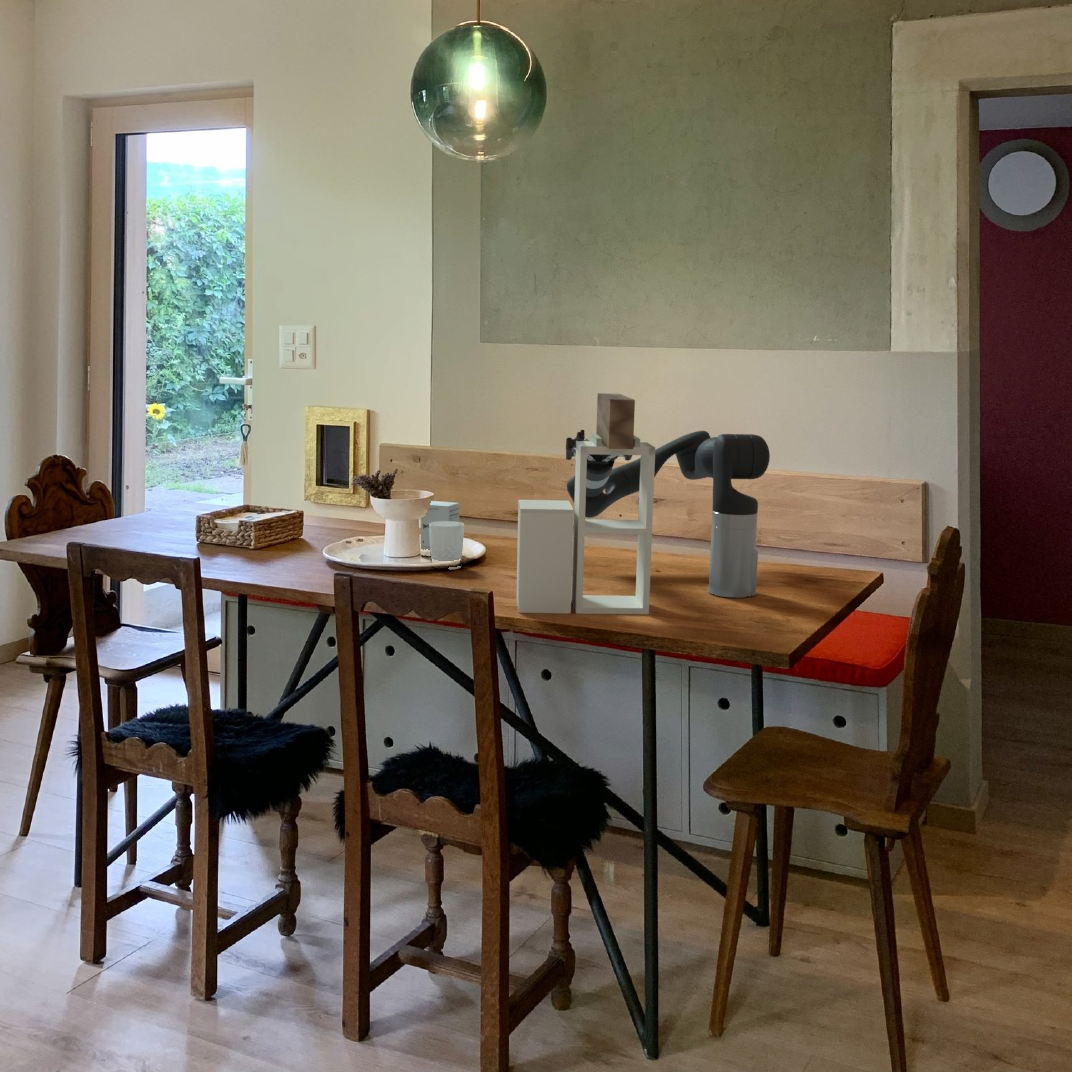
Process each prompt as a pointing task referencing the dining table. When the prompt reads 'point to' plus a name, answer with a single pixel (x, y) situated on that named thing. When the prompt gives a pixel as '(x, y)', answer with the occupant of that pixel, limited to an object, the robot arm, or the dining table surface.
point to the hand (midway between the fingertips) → (603, 434)
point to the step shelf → (580, 543)
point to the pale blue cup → (446, 541)
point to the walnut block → (615, 420)
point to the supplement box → (437, 518)
